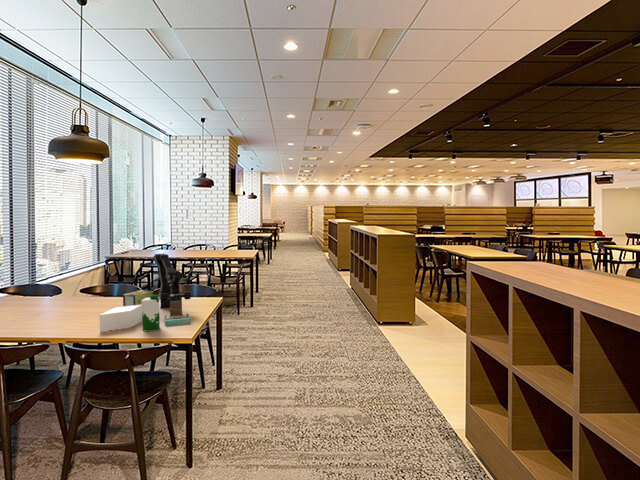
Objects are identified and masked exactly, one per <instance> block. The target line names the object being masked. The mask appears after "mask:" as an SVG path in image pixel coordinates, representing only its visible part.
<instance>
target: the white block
mask: <svg viewBox="0 0 640 480" xmlns="http://www.w3.org/2000/svg"><path fill="white" fill-rule="evenodd" d="M98 317H99V318H98V319H99V333H105V332H110V331H109V330H112V331H116V330H115V329H118V330H122V329H121V328H124V329H129V327H130V328H132V326H133V327H134V326H137V324H139V323H141V322H142V304H140V305H133V306H125V307H123V306H119V307H113V308H112V309H109V310H107V311H105V312H103V313H100V314H99V315H98Z"/></svg>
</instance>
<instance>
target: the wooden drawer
mask: <svg viewBox="0 0 640 480" xmlns="http://www.w3.org/2000/svg"><path fill="white" fill-rule="evenodd" d="M183 314H184V313H183V301H182V300H181V301H170V308H169V319H168V320H173V319H183V318H184V315H183Z"/></svg>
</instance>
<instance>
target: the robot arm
mask: <svg viewBox="0 0 640 480" xmlns="http://www.w3.org/2000/svg"><path fill="white" fill-rule="evenodd" d="M152 258H153V261H154V264H155V265H156V266H157V268H158V274H159V280H160V288H159V292H158V294H157V295H158V297H159V304H160V306H159V309H166V308H167V309H168V308H169V309H170V301H182V299H183V298H184V299H185V300H191V299H192V296H191V295H192V293H191V291H184V292H183V293H181V287H180V285H181V284H180V283H181V282H182V280H183V278H184V274H183V273H182V272H181V271H180V270H177V269H175V268H174V267H173V265H172V262H171V261H170V258H169V254H166V253H155V254H154V255H153V257H152ZM168 281H170V284H169V282H168Z"/></svg>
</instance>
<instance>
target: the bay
mask: <svg viewBox="0 0 640 480" xmlns="http://www.w3.org/2000/svg"><path fill="white" fill-rule="evenodd" d="M185 315H186V317H183V319H173V320H169V319H168V317H167V315H164V326H165V327H167V326H176V325H177V326H178V325H186V324H191V318H190V315H189V313H186V314H185Z"/></svg>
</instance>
